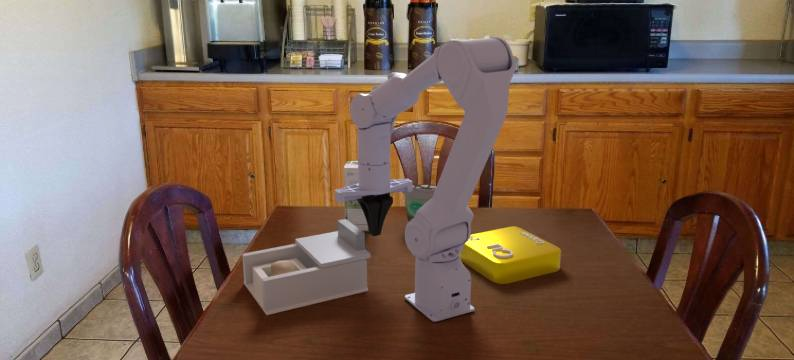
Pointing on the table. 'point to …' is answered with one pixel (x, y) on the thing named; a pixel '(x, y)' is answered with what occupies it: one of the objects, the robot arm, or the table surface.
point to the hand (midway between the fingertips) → (374, 233)
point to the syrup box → (352, 206)
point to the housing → (299, 279)
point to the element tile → (510, 255)
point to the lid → (336, 245)
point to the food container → (417, 198)
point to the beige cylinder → (282, 267)
